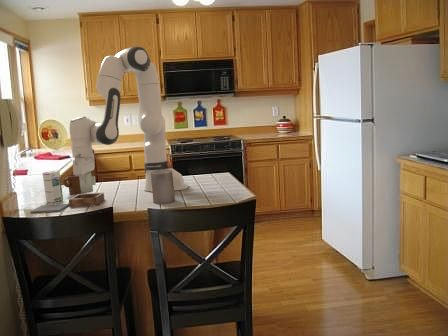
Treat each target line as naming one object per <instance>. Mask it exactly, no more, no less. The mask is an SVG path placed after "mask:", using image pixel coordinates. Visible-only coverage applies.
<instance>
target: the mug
mask: <svg viewBox="0 0 448 336" xmlns="http://www.w3.org/2000/svg"><path fill="white" fill-rule="evenodd" d="M62 182H63V183H62V184H63V186H64V187H65V188H68V192H69V195H77V194H80V193H81V187H80V179H79V176H74V174H70V175H67V177H65V178H64V179H63V181H62ZM81 194H82V193H81Z"/></svg>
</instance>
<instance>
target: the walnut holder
mask: <svg viewBox="0 0 448 336" xmlns="http://www.w3.org/2000/svg"><path fill="white" fill-rule="evenodd" d="M103 201H105V192H90V193H81V194H74V196H72V197H71V198H69V199H68V204H69V206H68V207H69V208H76V207H77V208H79V207H80V208H81V207H94V206H95V207H97V206H98V205H100V204H101V203H102V202H103Z"/></svg>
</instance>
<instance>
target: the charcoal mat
mask: <svg viewBox="0 0 448 336" xmlns="http://www.w3.org/2000/svg"><path fill="white" fill-rule="evenodd" d="M68 207H70V206H69V203H60V204H42V205H40V206H38V207H36V208H35V209H32V210H30V211H29V212H30V214H39V213H40V214H43V213H58V212H59V211H60V212H62V211H63V210H65V209H67V208H68Z"/></svg>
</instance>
